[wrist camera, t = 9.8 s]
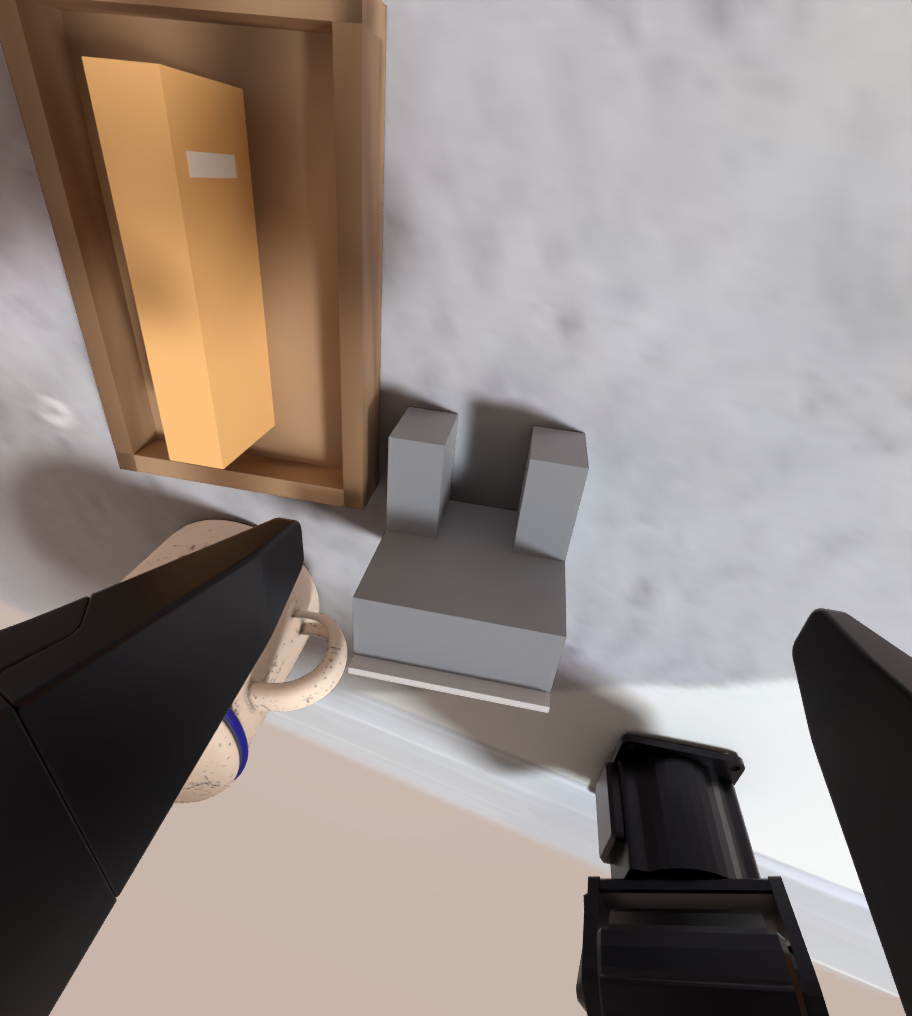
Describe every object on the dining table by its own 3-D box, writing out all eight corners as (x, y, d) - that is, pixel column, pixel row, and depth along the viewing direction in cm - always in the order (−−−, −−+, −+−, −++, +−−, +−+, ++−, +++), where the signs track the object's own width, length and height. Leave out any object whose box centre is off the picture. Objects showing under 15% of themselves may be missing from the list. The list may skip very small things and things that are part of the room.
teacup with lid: (199, 645, 31) (35, 857, 21) (133, 513, 27) (-116, 706, 17) (394, 651, 29) (309, 894, 19) (357, 508, 24) (220, 729, 14)
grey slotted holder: (585, 433, 20) (597, 546, 14) (550, 573, 24) (548, 713, 18) (408, 406, 21) (344, 503, 15) (402, 547, 25) (348, 673, 18)
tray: (386, 6, 15) (362, -20, 13) (378, 484, 23) (362, 510, 21) (43, -23, 16) (-26, -51, 14) (153, 446, 24) (120, 468, 22)
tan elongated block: (244, 89, 16) (160, 64, 13) (276, 425, 22) (224, 469, 18) (178, 82, 16) (79, 56, 13) (228, 417, 22) (168, 460, 19)
